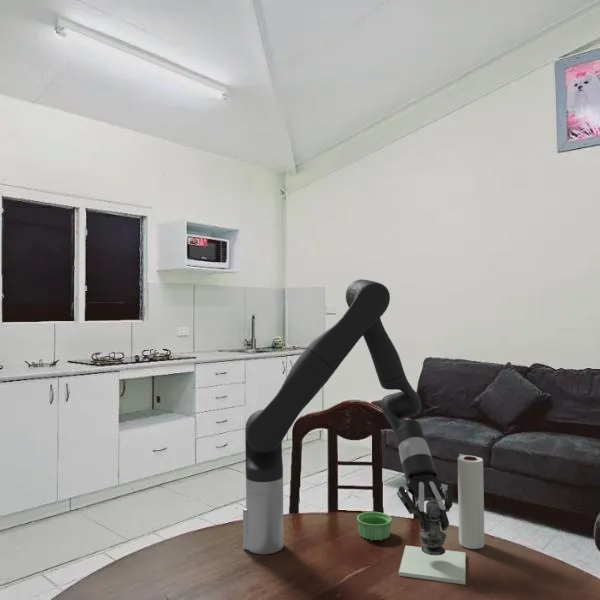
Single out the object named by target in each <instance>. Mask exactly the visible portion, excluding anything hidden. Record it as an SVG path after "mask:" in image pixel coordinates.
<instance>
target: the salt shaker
mask: <svg viewBox="0 0 600 600" xmlns="http://www.w3.org/2000/svg"><path fill="white" fill-rule="evenodd" d="M433 500H434V499H433V497H432V498H431V501H426V504H425V512H426V515H427V519H428V522H429V526H430V529H429V531H428V532H425V531H424V529H422V530H421V531H420V532H419V536H420V537H421V538H420V539H421V540H422V543H423V544H424V545H423V546H422V551H423V552H424V553H426V554H429V555H442V554H444V553H445V550H446V549H445V548H444V547H443V545H444V544H445V541H446V538H447V534H446V533H445V532H444V531H443V530H442V529H441V524H440V520H441V517H440V516H439V504H438V503H437V502H435V501H433Z"/></svg>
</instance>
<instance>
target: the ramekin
mask: <svg viewBox="0 0 600 600" xmlns="http://www.w3.org/2000/svg"><path fill="white" fill-rule="evenodd" d="M356 520H357V527H358V534H359V536H360V537H361V536H362V537H363V538H362V537H361V538H362V539H364V538H366V539H365V540H367V539H370V540H369V541H373V540H380V541H384V540H383V539H385V540H387V539H388V538H389V537H390V535H391V526H392V517H391V515H388V514H387V513H383V512H378V511H367V512H362V513H360V514H358V515H357V516H356ZM386 538H387V539H386Z"/></svg>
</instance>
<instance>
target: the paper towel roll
mask: <svg viewBox="0 0 600 600" xmlns="http://www.w3.org/2000/svg"><path fill="white" fill-rule="evenodd" d="M458 455H459V456H458V457H457V485H458V486H457V493H458V494H457V495H458V498H457V500H458V502H457V504H458V506H457V507H458V509H457V510H458V543H459V545H460V546H462V547H464V548H466V549H469V550H470V549H471V550H478V549H479V550H480V549H482V548H484V547H485V501H484V500H485V498H484V493H485V492H484V490H485V489H484V487H485V486H484V484H485V483H484V460H483V458H482V457H479V456H475V455H469V454H468V455H467V454H462V453H459V454H458Z"/></svg>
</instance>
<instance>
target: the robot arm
mask: <svg viewBox="0 0 600 600" xmlns="http://www.w3.org/2000/svg"><path fill="white" fill-rule="evenodd" d="M390 299H391V295H390V291H389V289H388V288H387V286H385V285H384V284H383V283H380V282H377V281H374V280H369V279H363V278H362V279H357V280H353V282H351V283H350V284H349V285H348V286H347V289H346V292H345V302H346V304H347V306H348V309H347V310H346V311H345V312H344V314H343V315H342V317H341V318H340V319H339V320H338V321H337V322H336V323H334V324H333V325H332V326H331V327H330V328H328V329H327V330H325V331H324V332H323V333H321V334H320V335H318V336H317V337H316V338H315V339H313V340H312V341H311V343H309V344H308V346H307V347H306V348H305V349H304V351H303V352H302V353H301V355H300V356H299V357H298V358H297V359H296V361H295V362H294V364H293V365H292V367H291V369H290V370H289V372H288V373H287V376H286V378H285V379H284V382H283V384H282V385H281V387H280V389H279V391H278V392H277V393H276V395H275V396H274V397H273V399H272V400H270V402H269V403H268V404H267V405H266V406H265V407H264V409H259V410H256V411H254V412H253V413H252V414H251V415H249V417H248V419H247V421H246V422H245V429H244V430H245V431H244V433H245V441H244V442H245V443H244V444H245V507H244V509H243V510H242V549H243V550H247V551H248V552H250V553H253V554H257V555H269V554H275V553H277V552H279V551H281V550H282V549H283V548H284V465H283V444H282V443H283V440H284V439H285V437H286V435H287V434H288V432H289V431H290V429H291V427H292V426H293V424H294V422H295V421H296V420H297V417H298V416H300V414H301V412H302V411H303V410H304V409H305V408H306V407H307V406H308V404H309V403H311V401H312V400H313V399H314V398H315V397H316V395H317V394H319V392H320V391H321V390H322V388H324V386H325V384H327V382H328V381H329V380H330V378H331V377H332V376H333V375H334V373H335V372H336V371H337V370H338V368H339V366H340V365H341V364H342V362H343V361H344V360H345V359H346V357H347V356H348V355H349V354H350V353H351V351H352V350H353V349H354V348H355V346H356V344H357V343H358V342H359V340H360V339H362V337H363V339H364V341H365V343H366V347H367V349H368V351H369V354H370V357H371V359H372V363H373V366H374V370H375V373H376V375H377V379H378V381H379V384H380V386H381V388H382V389H385V390H387V391H388V390H389V391H394V390H396V391H398V392H394V393H391V394H387V395H385V396H384V397H382V399H381V402H380V408H381V412H382V413H383V415H384V417H385V418H386V420H387V422H388V423H389V425H390V426H391V429H392V430H393V432H394V435H395V439H396V440H395V441H396V443H397V447H398V454H399V458H400V463H401V465H402V466H401V467H402V470H403V472H404V477H405V481H406V485H405V486H399V488H398V490H397V492H396V495H397V496H398V498H399V499H400V502H401V503H402V504H403V506H404V507H405V509H406V511H407V512H408V514H410V515H416V516H417V518H418V521H419V525H420V528H421V529H422V530H424V531H425V532H428V531H429V529H430V526H429V522H428V519H427V515H426V511H425V502H429V501H431V498H432V497H433V499H434V500H433V501H435V502H437V503H438V504H439V516H440V517H441V520H440V529H441V531H442V532H444V531H447V529H448V528H449V526H450V522H449V518H448V515H447V513H449V512H450V509H451V508H452V507H453V497H454V494H453V493H454V485H453V483H449V484H445V483H442V482H441V480H440V479H439V477H438V474H437V469H436V467H435V466H436V465H435V464H434V461H433V457H432V454H431V449H430V447H429V446H428V443H427V441H426V438H425V434H424V431H423V428H422V425H421V424H420V422H419V421H417V420H416V419H407V418H410V417H414V416H416V415H419V414H420V412H421V410H422V402H421V399H420V397H419V395H418V393H417V392H416V391H415V390H414V387H412V385H411V384H410V382H409V380H408V379H407V376H406V373H405V370H404V367H403V364H402V361H401V358H400V354H399V353H398V351H397V349H396V347H395V344H394V343H393V341H392V340H391V338H390V337H389V335H388V333H387V330H386V329H385V326H384V324H383V322H382V319H381V317H382V316H383V315H384V313H386V311H387V309H388V307H389V304H390V301H391V300H390ZM440 490H441V491H442V493H443V495H444V502H443V499H442V497H441V494H440ZM410 495H411V496H413V497H414V498H415V503H414V501H413V500H412V499H411V498H412V497H410Z"/></svg>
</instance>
